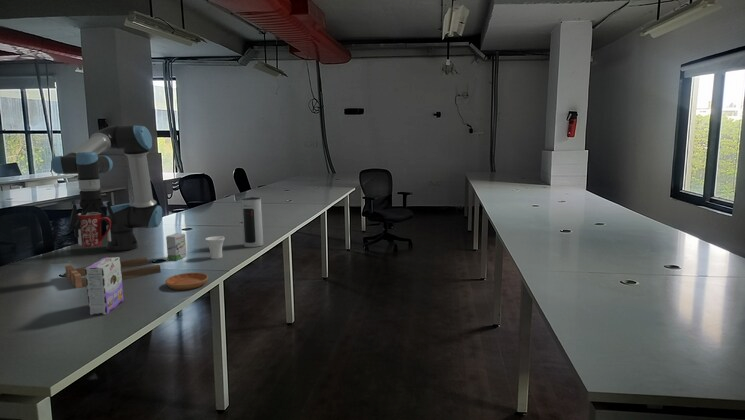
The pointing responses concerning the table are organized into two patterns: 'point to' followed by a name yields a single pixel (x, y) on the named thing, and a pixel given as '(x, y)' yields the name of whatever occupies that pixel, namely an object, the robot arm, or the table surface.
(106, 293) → the candy box
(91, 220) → the mug
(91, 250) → the table surface
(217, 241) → the cup
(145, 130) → the robot arm
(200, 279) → the saucer
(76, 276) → the guide channel
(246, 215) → the speaker
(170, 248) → the ink box
